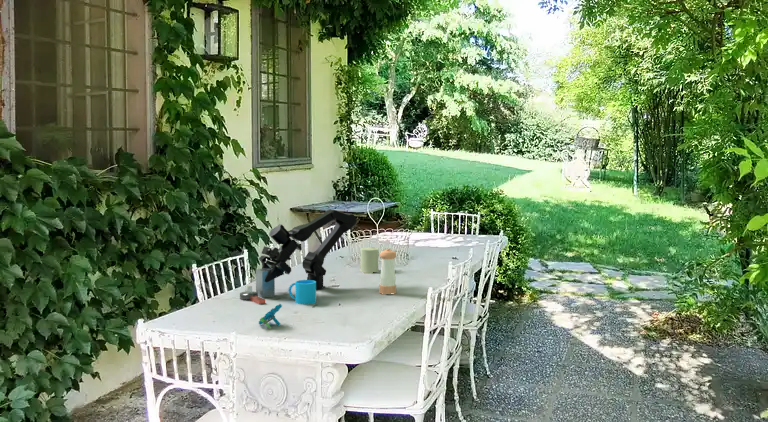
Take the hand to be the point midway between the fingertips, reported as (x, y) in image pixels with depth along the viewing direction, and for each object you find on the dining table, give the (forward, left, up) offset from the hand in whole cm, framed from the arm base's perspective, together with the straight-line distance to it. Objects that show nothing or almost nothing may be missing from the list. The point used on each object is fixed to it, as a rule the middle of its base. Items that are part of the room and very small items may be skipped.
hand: (262, 280), depth 266 cm
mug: (-19, -2, -7) cm, 20 cm away
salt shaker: (-40, -34, -7) cm, 53 cm away
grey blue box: (0, -1, -7) cm, 7 cm away
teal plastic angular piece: (-31, +31, -7) cm, 44 cm away
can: (-8, -69, -7) cm, 70 cm away
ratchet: (-2, +7, -7) cm, 10 cm away
